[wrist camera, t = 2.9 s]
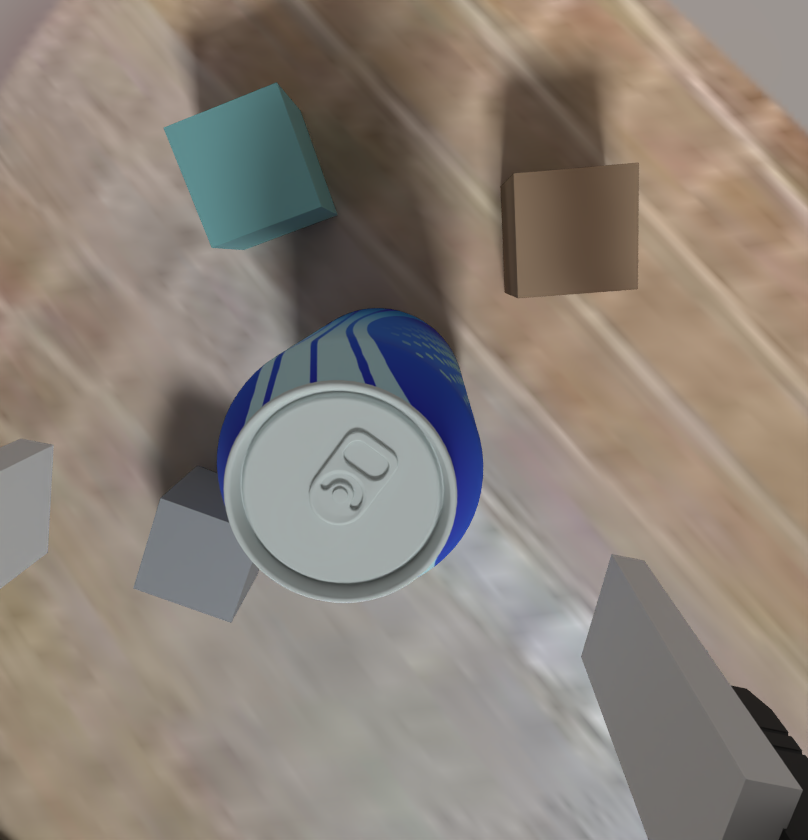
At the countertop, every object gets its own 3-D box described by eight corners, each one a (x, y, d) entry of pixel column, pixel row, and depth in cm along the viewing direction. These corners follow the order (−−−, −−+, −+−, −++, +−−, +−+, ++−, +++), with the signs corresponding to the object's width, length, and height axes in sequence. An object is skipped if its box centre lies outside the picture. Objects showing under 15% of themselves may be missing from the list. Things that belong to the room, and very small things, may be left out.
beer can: (477, 445, 34) (518, 599, 19) (325, 480, 35) (242, 657, 19) (440, 287, 32) (451, 312, 17) (280, 329, 33) (148, 389, 17)
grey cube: (173, 544, 36) (133, 588, 31) (197, 465, 35) (160, 498, 30) (257, 574, 36) (231, 622, 32) (284, 496, 35) (261, 534, 30)
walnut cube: (504, 292, 32) (517, 298, 27) (500, 187, 31) (513, 173, 26) (606, 285, 32) (637, 289, 27) (605, 178, 31) (638, 162, 26)
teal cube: (244, 249, 32) (211, 247, 27) (204, 148, 31) (163, 127, 26) (337, 215, 32) (321, 206, 27) (300, 110, 31) (276, 82, 26)
